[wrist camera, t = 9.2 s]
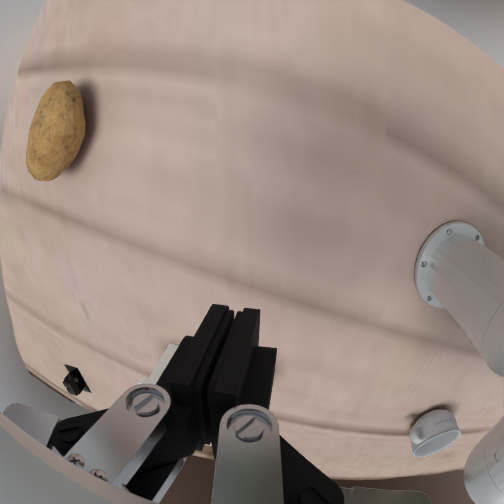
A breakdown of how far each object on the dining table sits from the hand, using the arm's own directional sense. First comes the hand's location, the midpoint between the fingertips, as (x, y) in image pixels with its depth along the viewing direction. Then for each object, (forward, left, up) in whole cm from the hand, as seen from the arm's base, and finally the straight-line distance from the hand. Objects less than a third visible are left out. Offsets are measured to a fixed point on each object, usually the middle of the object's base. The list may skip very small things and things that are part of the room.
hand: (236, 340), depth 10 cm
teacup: (-38, +38, -24) cm, 59 cm away
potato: (+29, -10, -24) cm, 39 cm away
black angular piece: (+40, +42, -25) cm, 64 cm away
